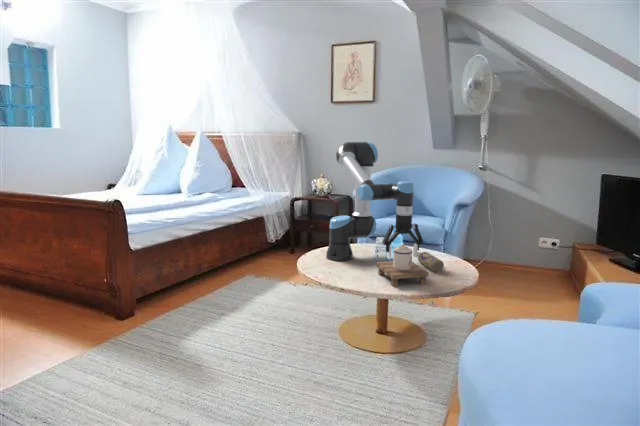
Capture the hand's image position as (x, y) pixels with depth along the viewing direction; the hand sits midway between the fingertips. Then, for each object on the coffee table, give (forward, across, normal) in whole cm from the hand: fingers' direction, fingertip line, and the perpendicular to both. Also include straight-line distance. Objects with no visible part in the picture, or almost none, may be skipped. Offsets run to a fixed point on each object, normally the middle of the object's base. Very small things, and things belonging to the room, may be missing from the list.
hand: (402, 257), depth 207 cm
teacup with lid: (+5, 0, 0) cm, 5 cm away
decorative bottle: (+11, +24, +17) cm, 32 cm away
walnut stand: (+11, 0, 0) cm, 11 cm away
